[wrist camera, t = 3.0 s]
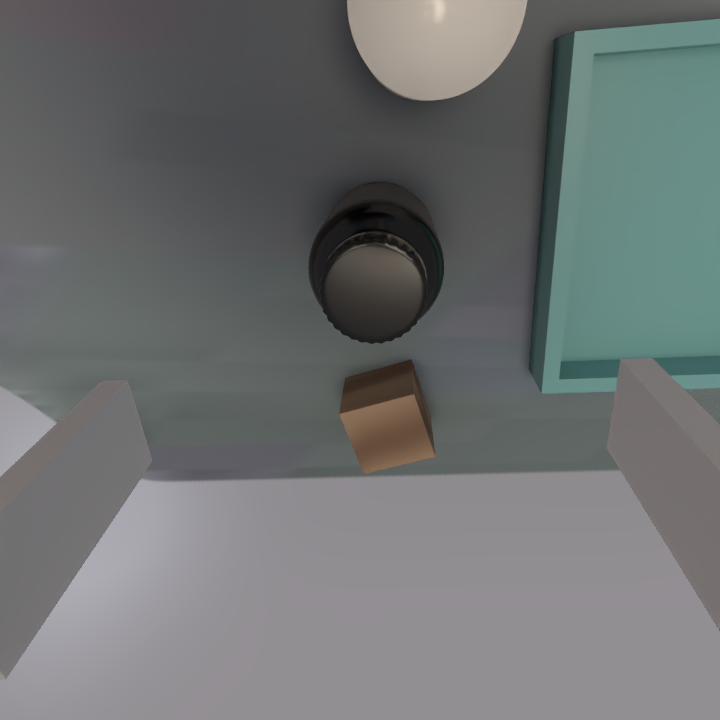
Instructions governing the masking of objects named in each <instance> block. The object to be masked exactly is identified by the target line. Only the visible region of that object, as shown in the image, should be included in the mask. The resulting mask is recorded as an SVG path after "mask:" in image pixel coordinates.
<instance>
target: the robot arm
mask: <svg viewBox="0 0 720 720" xmlns="http://www.w3.org/2000/svg"><path fill="white" fill-rule="evenodd" d="M607 449H608V451H609V453H610V454H611V456H612V457H613V459H614V461H615V462H616V464H617V466H618V467H619V469H620V470H621V472H622V473H623V475H624V477H625V478H626V480H627V482H628V483H629V485H630V486H631V488H632V490H633V491H634V493H635V495H636V496H637V498H638V499H639V501H640V503H641V504H642V506H643V508H644V509H645V511H646V512H647V514H648V516H649V517H650V519H651V520H652V522H653V524H654V525H655V527H656V529H657V530H658V532H659V533H660V535H661V536H662V538H663V540H664V542H665V543H666V545H667V546H668V548H669V550H670V551H671V553H672V555H673V556H674V558H675V559H676V561H677V562H678V564H679V566H680V567H681V569H682V570H683V572H684V574H685V576H686V577H687V579H688V580H689V582H690V584H691V585H692V587H693V589H694V590H695V592H696V593H697V595H698V597H699V598H700V600H701V601H702V603H703V605H704V606H705V608H706V610H707V611H708V613H709V614H710V616H711V618H712V619H713V621H714V622H715V624H716V626H717V627H718V629H719V631H720V424H719V423H718V422H716V421H715V420H714V419H713V418H712V417H711V416H710V415H709V414H708V413H707V412H706V411H705V410H704V409H703V408H702V407H701V406H700V405H699V404H698V403H697V402H696V401H695V400H694V399H693V398H692V397H691V396H690V395H689V394H688V393H687V392H686V391H685V390H684V389H683V388H682V387H681V386H680V385H679V384H678V383H677V382H676V381H675V380H674V379H673V378H672V377H671V376H670V375H669V374H668V373H667V372H666V371H665V370H664V369H663V368H662V367H661V366H660V365H659V364H658V363H657V362H656V361H655V360H654V359H653V358H631V359H620V365H619V372H618V378H617V385H616V391H615V397H614V404H613V410H612V417H611V423H610V430H609V436H608V443H607ZM151 463H152V458H151V454H150V451H149V448H148V445H147V441H146V438H145V435H144V431H143V428H142V425H141V422H140V418H139V415H138V412H137V409H136V405H135V402H134V399H133V395H132V392H131V389H130V386H129V382H128V380H113V381H101V382H100V383H99V384H98V385H97V386H96V387H95V388H93V389H92V390H91V391H90V392H89V393H88V394H87V395H86V396H85V397H84V398H83V399H82V400H81V401H80V402H79V403H78V404H77V405H76V406H75V407H74V408H72V409H71V410H70V411H69V412H68V413H67V414H66V415H65V416H64V417H63V418H62V419H61V420H60V421H59V422H58V423H57V424H56V425H55V426H54V427H53V428H51V429H50V430H49V431H48V432H47V433H46V434H45V435H44V436H43V437H42V438H41V439H40V440H39V441H38V442H37V443H36V444H35V445H34V446H33V447H32V448H31V449H29V450H28V451H27V452H26V453H25V454H24V455H23V456H22V457H21V458H20V459H19V460H18V461H17V462H16V463H15V464H14V465H13V466H12V467H11V468H10V469H8V470H7V471H6V472H5V473H4V474H3V475H2V476H1V477H0V679H6V678H7V677H8V675H9V674H10V672H11V671H12V669H13V668H14V666H15V665H16V663H17V662H18V660H19V659H20V657H21V656H22V654H23V653H24V651H25V650H26V648H27V647H28V646H29V644H30V643H31V641H32V640H33V638H34V636H35V635H36V634H37V632H38V631H39V629H40V628H41V626H42V625H43V623H44V622H45V620H46V619H47V617H48V616H49V614H50V613H51V611H52V610H53V608H54V607H55V605H56V604H57V602H58V601H59V599H60V598H61V596H62V595H63V593H64V592H65V591H66V589H67V588H68V586H69V584H70V583H71V581H72V580H73V579H74V577H75V576H76V574H77V573H78V571H79V570H80V568H81V567H82V565H83V564H84V562H85V560H86V559H87V558H88V556H89V555H90V553H91V552H92V550H93V549H94V547H95V546H96V544H97V543H98V541H99V540H100V538H101V537H102V535H103V534H104V532H105V531H106V530H107V528H108V527H109V525H110V523H111V522H112V521H113V519H114V518H115V516H116V515H117V513H118V512H119V510H120V508H121V507H122V506H123V504H124V503H125V501H126V500H127V498H128V497H129V495H130V494H131V492H132V491H133V489H134V488H135V486H136V485H137V483H138V482H139V480H140V479H141V477H142V476H143V474H144V473H145V472H146V470H147V469H148V467H149V466H150V464H151Z"/></svg>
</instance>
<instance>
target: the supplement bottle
mask: <svg viewBox="0 0 720 720" xmlns="http://www.w3.org/2000/svg"><path fill="white" fill-rule="evenodd" d="M443 276H444V259H443V252H442V249H441V245H440V242H439V239H438V236H437V233H436V231H435V228H434V225H433V222H432V219H431V217H430V215H429V213H428V211H427V209H426V207H425V206H424V204H423V203H422V202H421V201H420V200H419V199H418V198H417V197H416V196H415V195H414V194H413V193H411V192H410V191H408V190H407V189H405V188H403V187H401V186H398V185H395V184H391V183H383V182H379V183H370V184H366V185H363V186H360V187H358V188H356V189H354V190H352V191H350V192H349V193H348V194H346V195H345V196H344V197H343V198H342V199H341V200H340V201H339V202H338V204H337V205H336V206H335V207H334V209H333V210H332V212H331V213H330V215H329V217H328V218H327V220H326V221H325V223H324V224H323V226H322V227H321V229H320V231H319V232H318V234H317V236H316V238H315V240H314V243H313V245H312V248H311V252H310V257H309V278H310V283H311V287H312V290H313V292H314V295H315V297H316V299H317V301H318V302H319V304H320V305H321V307H322V308H323V312H324V313H325V314H326V315H327V318H328V321H330V322H331V323H333V325H334V327H335V328H336V329H338V330H340V331H341V333H342V334H343V335H347V336H349V337H350V338H351V339H354V340H358V341H360V342H368V343H370V344H373V343H376V342H377V343H383V342H385V341H392V340H394V339H395V338H398V337H401V336H402V335H403V334H404V333H406V332H408V331H410V329H411V327H412V326H414V325H416V323H417V321H418V320H419V319H420V318H422V317H423V316H424V315H425V314H426V313H427V312H428V310H429V309H430V308H431V306H432V305H433V304H434V302H435V300H436V299H437V296H438V294H439V292H440V289H441V286H442V282H443Z"/></svg>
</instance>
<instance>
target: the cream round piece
mask: <svg viewBox="0 0 720 720" xmlns="http://www.w3.org/2000/svg"><path fill="white" fill-rule="evenodd" d="M526 7H527V0H347V10H348V18H349V24H350V29H351V33H352V36H353V39H354V42H355V44H356V47H357V49H358V51H359V53H360V55H361V57H362V59H363V60H364V62H365V63H366V65H367V66H368V68H369V69H370V71H371V72H372V74H373V75H374V77H375V78H376V79H377V80H378V81H379V83H380V84H381V85H382V86H384V87H385V88H386V89H387V90H388V91H390V92H392V93H393V94H395V95H397V96H399V97H401V98H405V99H408V100H414V101H432V100H441V99H448V98H451V97H455V96H458V95H461V94H463V93H465V92H467V91H469V90H471V89H473V88H474V87H476V86H478V85H479V84H481V83H482V82H483V81H484V80H486V79H487V78H488V77H489V76H490V75H491V74H492V73H493V72H494V71H495V70H496V69H497V68H498V67H499V66H500V64H501V63H502V62H503V61H504V59H505V58H506V57H507V55H508V53H509V52H510V50H511V48H512V47H513V45H514V43H515V41H516V38H517V36H518V34H519V32H520V29H521V26H522V23H523V20H524V16H525V11H526Z"/></svg>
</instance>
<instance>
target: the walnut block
mask: <svg viewBox="0 0 720 720" xmlns="http://www.w3.org/2000/svg"><path fill="white" fill-rule="evenodd" d="M339 415H340V417H341V419H342V422H343V424H344V427H345V429H346V431H347V434H348V436H349V439H350V441H351V443H352V446H353V448H354V451H355V453H356V455H357V458H358V460H359V463H360V465H361V467H362V470H363V472H364V474H366V473H370V472H374V471H378V470H382V469H386V468H390V467H395V466H399V465H403V464H407V463H411V462H415V461H420V460H424V459H428V458H432V457H435V450H434V441H433V433H432V425H431V417H430V414H429V411H428V408H427V405H426V402H425V399H424V396H423V393H422V390H421V387H420V384H419V381H418V378H417V375H416V372H415V369H414V366H413V363H412V360H408V361H405V362H401V363H398V364H394V365H391V366H387V367H383V368H380V369H376V370H373V371H369V372H365V373H362V374H358V375H355V376H351V377H348V378H345V383H344V389H343V395H342V401H341V407H340V413H339Z"/></svg>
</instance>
